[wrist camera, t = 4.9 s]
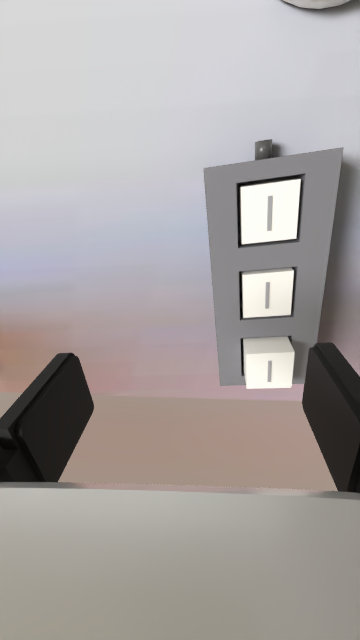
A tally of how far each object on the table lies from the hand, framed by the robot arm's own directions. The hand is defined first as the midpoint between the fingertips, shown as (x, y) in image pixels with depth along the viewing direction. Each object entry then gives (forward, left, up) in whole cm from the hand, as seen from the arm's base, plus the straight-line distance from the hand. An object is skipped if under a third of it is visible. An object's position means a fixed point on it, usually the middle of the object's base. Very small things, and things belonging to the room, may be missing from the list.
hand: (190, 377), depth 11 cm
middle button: (-4, +5, -15) cm, 17 cm away
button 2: (-7, -1, -16) cm, 17 cm away
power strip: (-4, +5, -17) cm, 18 cm away
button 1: (-1, +10, -13) cm, 17 cm away
